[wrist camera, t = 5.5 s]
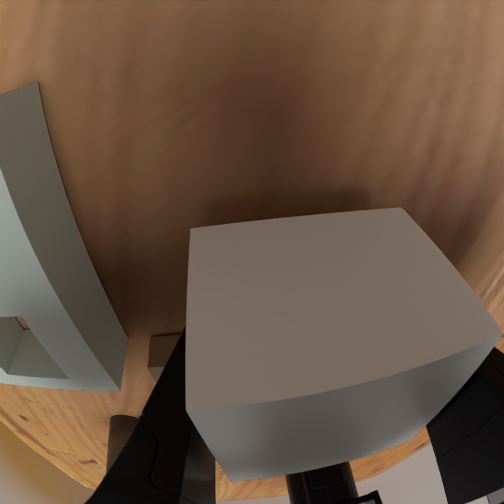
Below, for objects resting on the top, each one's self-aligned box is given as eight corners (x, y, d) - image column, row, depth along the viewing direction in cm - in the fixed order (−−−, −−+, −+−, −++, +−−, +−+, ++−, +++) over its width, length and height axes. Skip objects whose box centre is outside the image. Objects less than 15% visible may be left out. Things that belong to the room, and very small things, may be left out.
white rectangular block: (365, 336, 11) (408, 441, 7) (219, 360, 11) (230, 481, 7) (401, 207, 8) (503, 333, 4) (190, 228, 7) (185, 410, 4)
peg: (150, 429, 18) (151, 524, 12) (118, 428, 18) (115, 520, 12) (138, 415, 16) (136, 520, 11) (104, 414, 16) (97, 515, 11)
